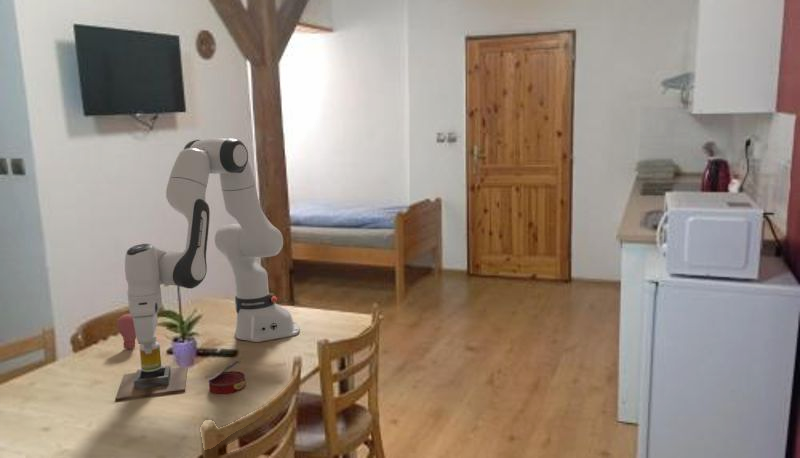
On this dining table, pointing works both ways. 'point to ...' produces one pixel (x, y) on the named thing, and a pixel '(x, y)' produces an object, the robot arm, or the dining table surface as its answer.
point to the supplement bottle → (151, 357)
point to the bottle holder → (152, 383)
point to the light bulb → (127, 330)
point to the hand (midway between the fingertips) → (149, 349)
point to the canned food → (227, 381)
